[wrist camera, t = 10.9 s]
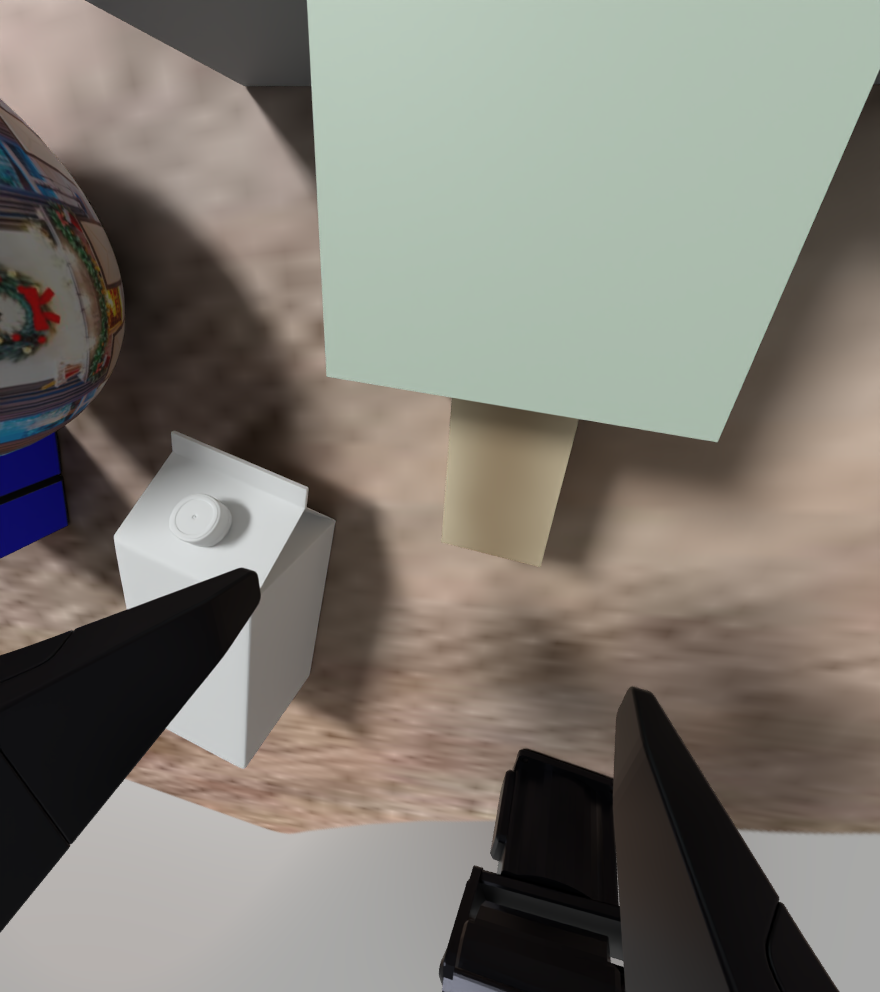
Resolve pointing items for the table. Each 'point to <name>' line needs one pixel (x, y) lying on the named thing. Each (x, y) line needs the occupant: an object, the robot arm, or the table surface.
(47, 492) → the puzzle cube
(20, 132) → the ornament
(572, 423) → the beige rectangular block
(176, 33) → the backstop board
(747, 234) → the sliding block
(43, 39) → the table surface
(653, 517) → the table surface
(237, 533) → the milk carton
